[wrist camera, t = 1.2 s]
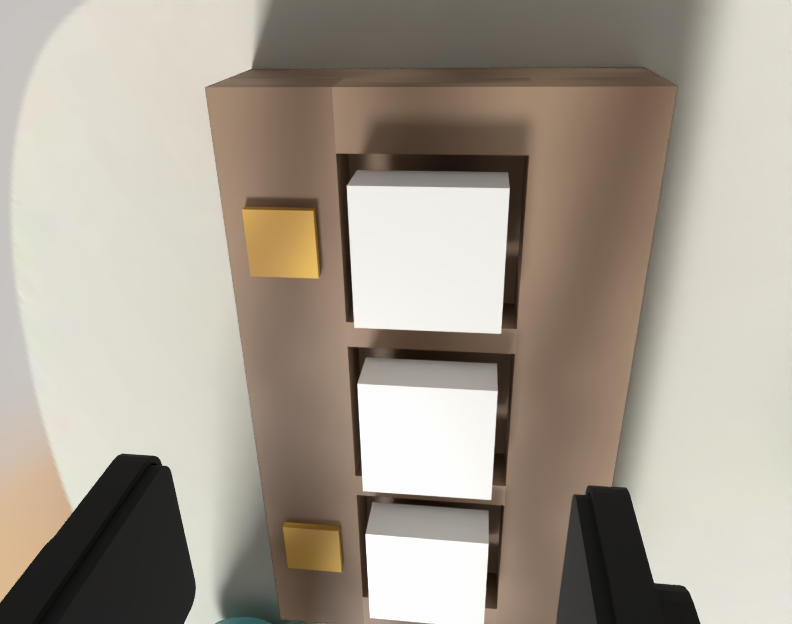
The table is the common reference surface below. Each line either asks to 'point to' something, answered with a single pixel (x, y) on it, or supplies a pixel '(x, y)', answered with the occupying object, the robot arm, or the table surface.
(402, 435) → the key middle
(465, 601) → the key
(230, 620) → the beverage bottle
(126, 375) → the table surface
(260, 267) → the keypad
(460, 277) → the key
